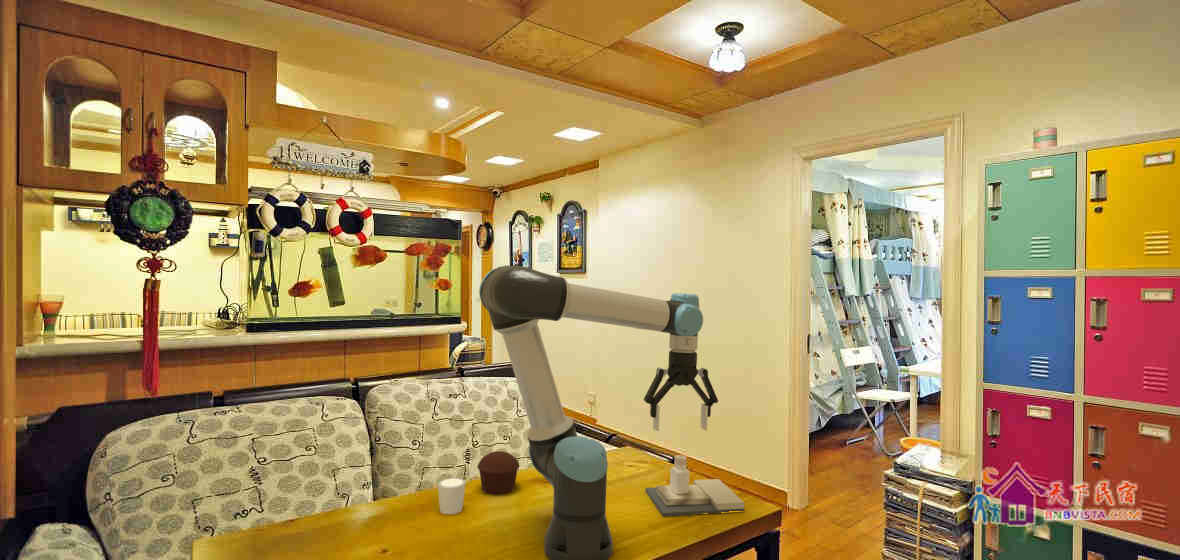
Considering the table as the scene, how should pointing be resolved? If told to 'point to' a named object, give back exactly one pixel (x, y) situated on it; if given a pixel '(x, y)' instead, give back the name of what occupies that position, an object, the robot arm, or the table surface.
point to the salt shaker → (679, 476)
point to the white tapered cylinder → (451, 495)
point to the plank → (683, 496)
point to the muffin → (498, 472)
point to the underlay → (719, 502)
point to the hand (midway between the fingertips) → (679, 429)
